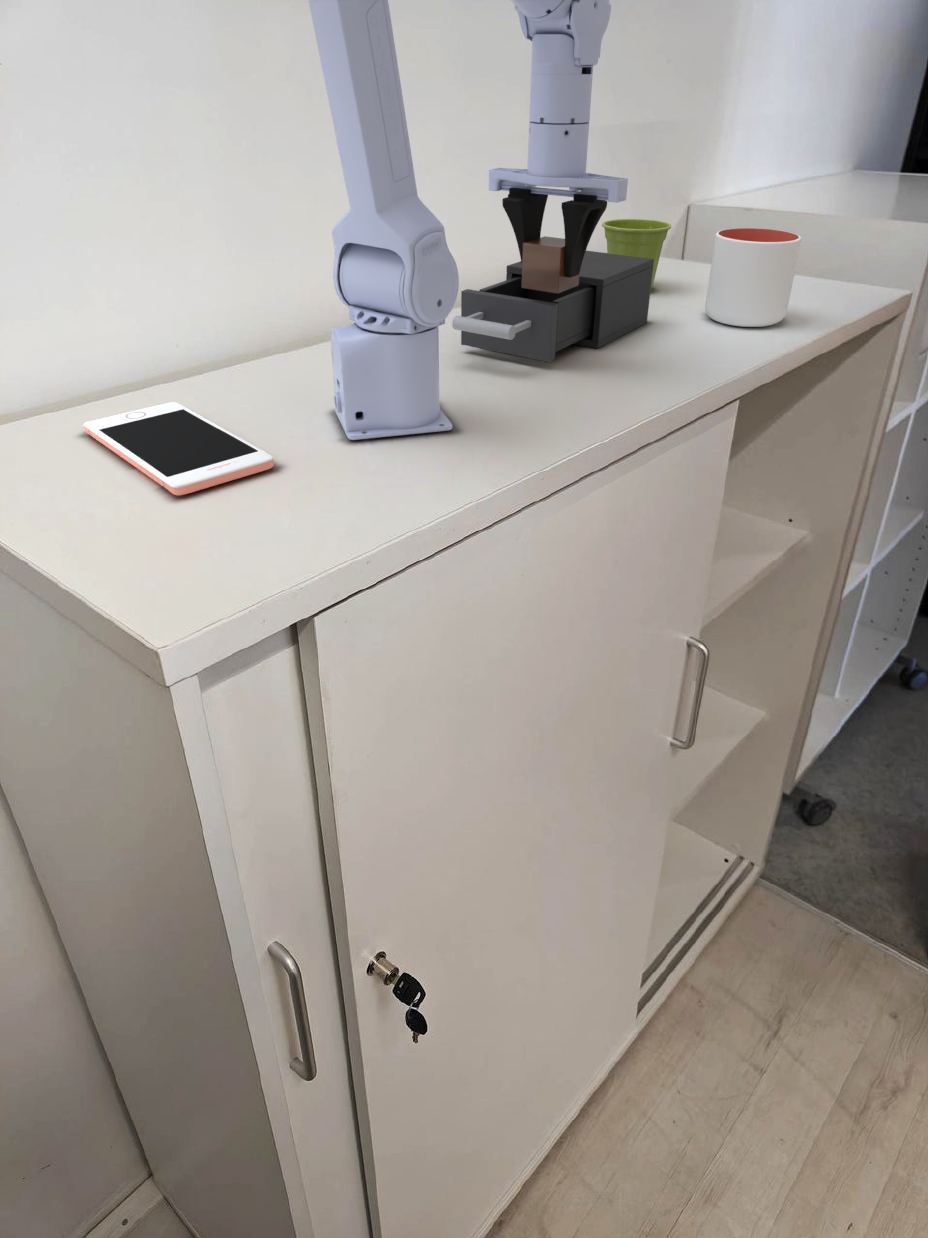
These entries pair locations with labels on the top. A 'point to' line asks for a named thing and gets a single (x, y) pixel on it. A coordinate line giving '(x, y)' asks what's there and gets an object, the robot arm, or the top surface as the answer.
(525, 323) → the drawer
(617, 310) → the cabinet
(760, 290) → the cup
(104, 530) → the top surface
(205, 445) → the cell phone
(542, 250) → the block
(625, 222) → the plant pot
